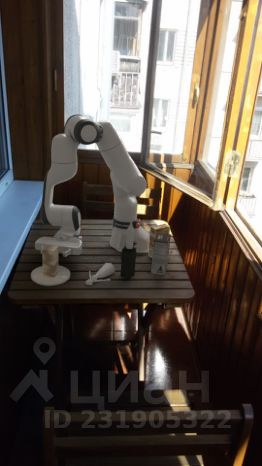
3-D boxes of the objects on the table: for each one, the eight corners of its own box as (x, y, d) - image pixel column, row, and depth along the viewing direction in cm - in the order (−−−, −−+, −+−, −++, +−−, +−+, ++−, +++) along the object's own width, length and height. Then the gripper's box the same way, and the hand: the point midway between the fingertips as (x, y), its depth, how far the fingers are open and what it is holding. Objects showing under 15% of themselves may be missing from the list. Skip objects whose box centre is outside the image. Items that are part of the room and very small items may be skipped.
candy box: (152, 259, 183) (156, 229, 177) (147, 255, 186) (150, 226, 180) (167, 255, 188) (170, 226, 182) (161, 252, 191) (165, 223, 185)
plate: (74, 269, 169) (74, 267, 168) (63, 288, 154) (63, 286, 154) (39, 264, 170) (39, 262, 170) (24, 282, 156) (24, 280, 155)
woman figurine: (124, 265, 166) (97, 284, 153) (123, 274, 168) (97, 293, 155) (102, 256, 172) (75, 274, 159) (102, 265, 174) (75, 283, 161)
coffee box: (153, 264, 178) (156, 232, 172) (167, 266, 177) (171, 234, 171) (150, 273, 170) (153, 240, 164) (165, 275, 169) (168, 242, 163)
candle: (129, 279, 164) (133, 224, 154) (119, 276, 166) (122, 221, 156) (135, 274, 168) (139, 221, 158) (125, 271, 170) (128, 218, 160)
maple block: (58, 271, 164) (58, 246, 159) (54, 277, 159) (54, 251, 155) (47, 270, 164) (46, 244, 160) (42, 275, 160) (42, 249, 155)
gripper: (41, 231, 174) (29, 243, 161) (85, 236, 172) (76, 249, 159) (41, 244, 176) (29, 257, 164) (85, 249, 174) (76, 263, 162)
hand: (53, 253), depth 161 cm, fingers open, 8 cm apart
